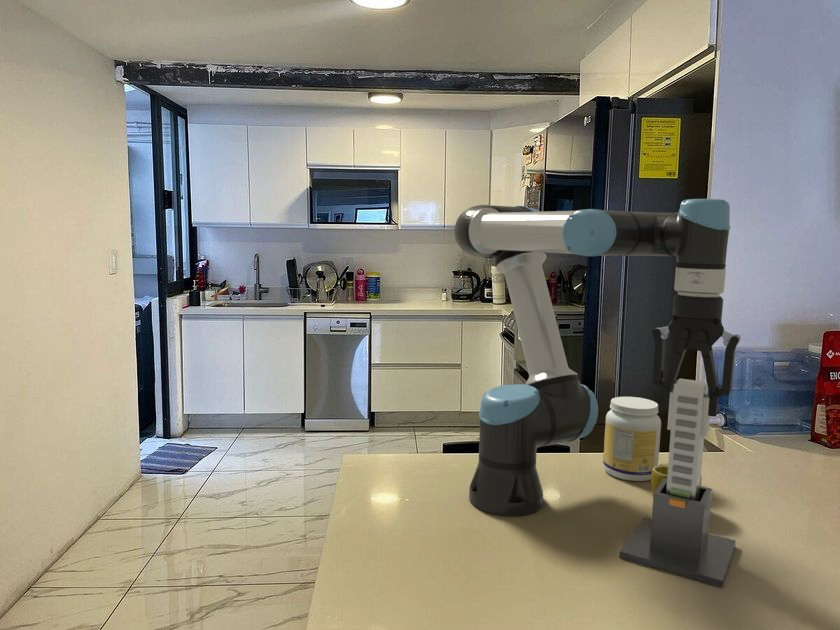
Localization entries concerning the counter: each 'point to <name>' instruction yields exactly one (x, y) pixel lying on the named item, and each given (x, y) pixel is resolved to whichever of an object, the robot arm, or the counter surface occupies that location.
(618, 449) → the supplement tub
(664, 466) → the mug
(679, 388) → the column
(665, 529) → the stand
